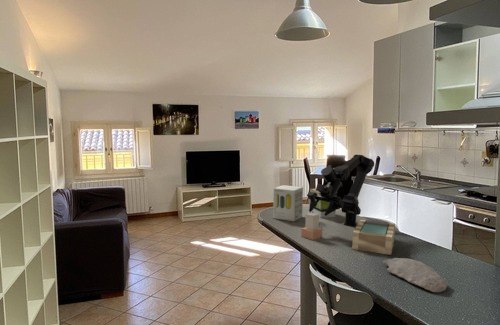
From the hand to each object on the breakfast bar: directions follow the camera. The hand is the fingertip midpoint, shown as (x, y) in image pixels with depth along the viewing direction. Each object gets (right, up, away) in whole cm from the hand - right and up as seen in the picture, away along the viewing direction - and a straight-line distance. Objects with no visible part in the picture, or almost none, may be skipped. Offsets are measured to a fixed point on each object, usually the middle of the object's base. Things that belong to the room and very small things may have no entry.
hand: (317, 213), depth 170 cm
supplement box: (-11, -7, +34) cm, 36 cm away
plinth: (-3, -11, -1) cm, 11 cm away
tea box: (+11, -7, +42) cm, 44 cm away
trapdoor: (+24, -7, -11) cm, 27 cm away
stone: (+26, -16, -45) cm, 54 cm away
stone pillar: (-3, -7, -2) cm, 8 cm away
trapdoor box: (+24, -12, -10) cm, 29 cm away
